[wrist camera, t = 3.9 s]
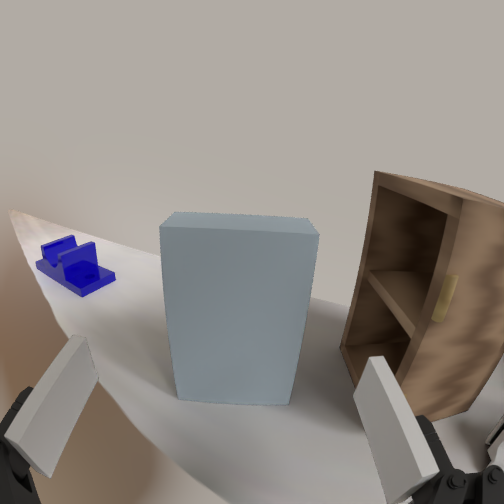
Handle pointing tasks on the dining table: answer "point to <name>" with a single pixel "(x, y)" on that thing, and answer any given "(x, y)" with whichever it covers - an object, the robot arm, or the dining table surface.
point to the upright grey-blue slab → (236, 303)
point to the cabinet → (429, 292)
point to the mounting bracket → (74, 265)
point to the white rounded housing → (496, 444)
